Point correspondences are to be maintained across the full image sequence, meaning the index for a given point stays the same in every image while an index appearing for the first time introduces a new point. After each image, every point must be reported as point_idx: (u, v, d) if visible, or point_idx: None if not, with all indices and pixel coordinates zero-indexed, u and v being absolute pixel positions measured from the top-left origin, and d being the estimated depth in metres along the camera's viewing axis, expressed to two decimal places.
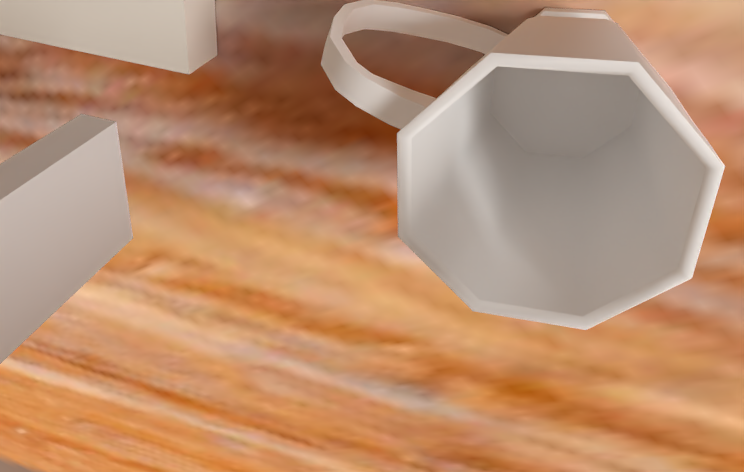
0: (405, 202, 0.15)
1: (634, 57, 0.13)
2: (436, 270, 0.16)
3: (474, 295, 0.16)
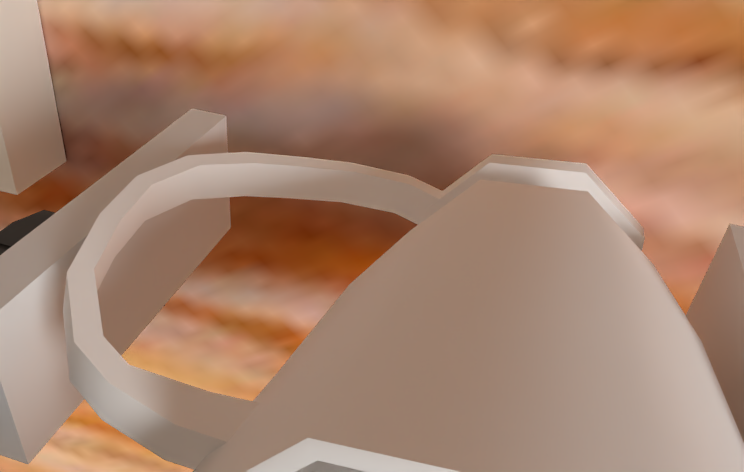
0: None
1: (647, 471, 0.05)
2: None
3: None
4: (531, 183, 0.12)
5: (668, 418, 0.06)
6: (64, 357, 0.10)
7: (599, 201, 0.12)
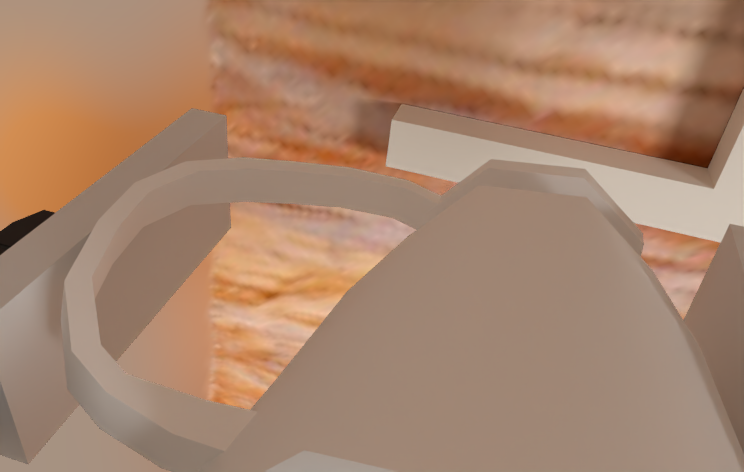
0: None
1: None
2: None
3: None
4: (530, 188, 0.12)
5: (666, 429, 0.06)
6: None
7: (598, 206, 0.12)
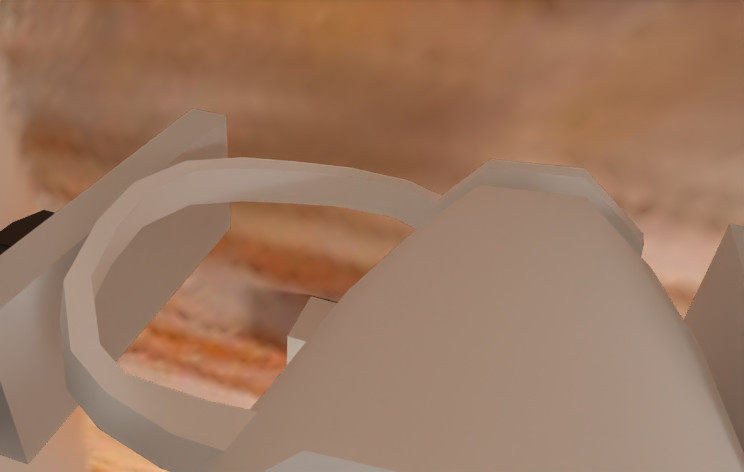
0: None
1: None
2: None
3: None
4: (530, 188, 0.12)
5: (666, 429, 0.06)
6: None
7: (598, 206, 0.12)
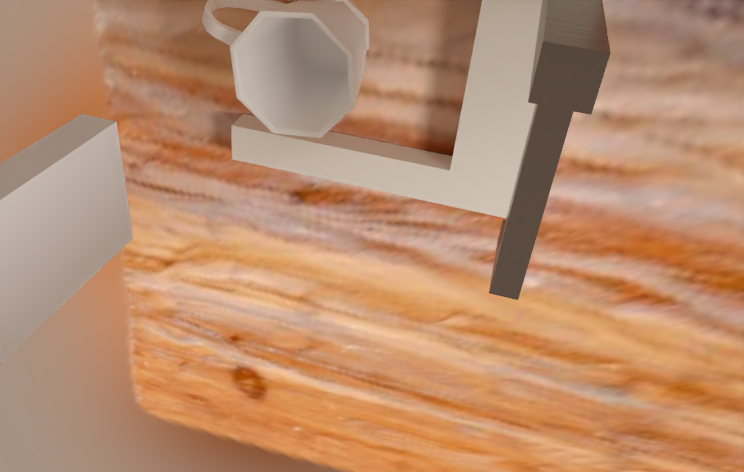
0: (237, 80, 0.35)
1: (314, 12, 0.32)
2: (254, 112, 0.35)
3: (273, 125, 0.36)
4: None
5: (328, 17, 0.33)
6: None
7: (352, 9, 0.39)
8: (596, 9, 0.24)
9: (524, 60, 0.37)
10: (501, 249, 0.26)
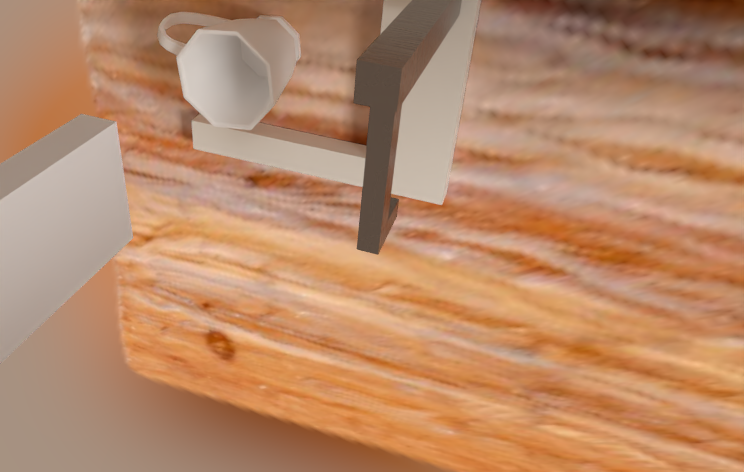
0: (183, 83, 0.43)
1: (239, 30, 0.41)
2: (198, 110, 0.44)
3: (213, 120, 0.44)
4: None
5: (253, 33, 0.42)
6: None
7: (285, 25, 0.47)
8: (421, 34, 0.32)
9: None
10: (360, 214, 0.35)
